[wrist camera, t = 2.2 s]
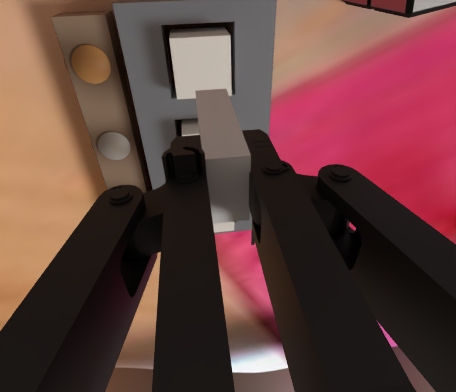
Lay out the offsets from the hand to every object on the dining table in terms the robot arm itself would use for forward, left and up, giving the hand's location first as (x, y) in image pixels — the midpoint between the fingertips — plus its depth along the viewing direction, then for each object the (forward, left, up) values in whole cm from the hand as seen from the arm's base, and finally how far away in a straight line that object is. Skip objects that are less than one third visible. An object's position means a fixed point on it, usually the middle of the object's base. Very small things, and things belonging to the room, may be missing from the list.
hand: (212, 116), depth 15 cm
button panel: (-8, 0, -16) cm, 18 cm away
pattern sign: (-8, +9, -16) cm, 20 cm away
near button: (0, 0, -14) cm, 14 cm away
